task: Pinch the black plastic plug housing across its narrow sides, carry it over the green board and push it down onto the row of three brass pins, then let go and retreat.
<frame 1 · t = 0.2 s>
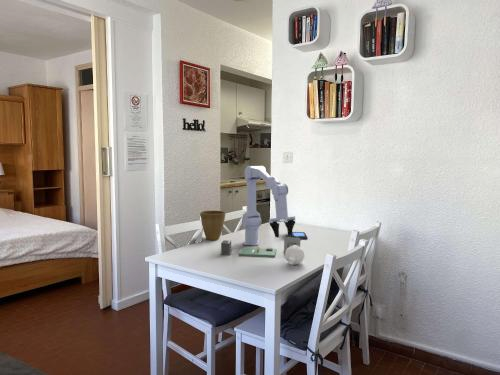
hand: (283, 236, 187), 10 cm above the table, fingers open, 7 cm apart
electrical switch: (291, 253, 197), on the table
handheld game console: (295, 237, 234), on the table
plug: (226, 253, 195), on the table
plant pot: (213, 239, 227), on the table
perfume bottle: (292, 265, 177), on the table
pcb: (258, 253, 196), on the table
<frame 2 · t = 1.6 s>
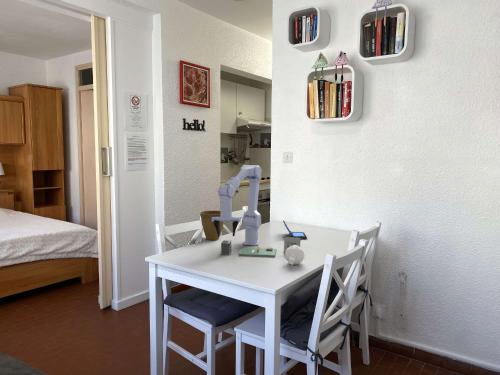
hand: (226, 235, 194), 9 cm above the table, fingers open, 7 cm apart
nothing on the table moved.
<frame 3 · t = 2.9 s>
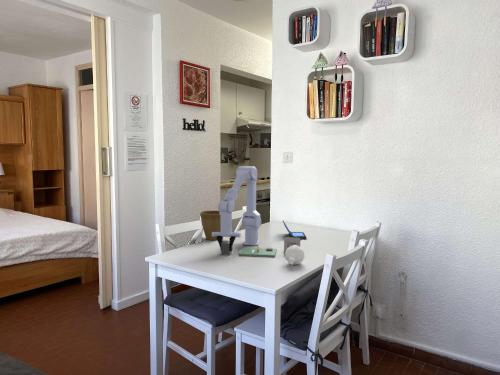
hand: (226, 250, 195), 1 cm above the table, fingers closed on plug, 4 cm apart
plug: (226, 253, 195), on the table, touching gripper
everything else where it was.
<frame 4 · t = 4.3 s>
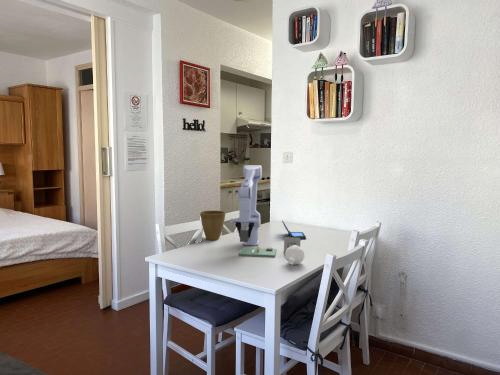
hand: (244, 237, 195), 8 cm above the table, fingers closed on plug, 4 cm apart
plug: (244, 240, 195), point 7 cm above the table, touching gripper
everything else where it was.
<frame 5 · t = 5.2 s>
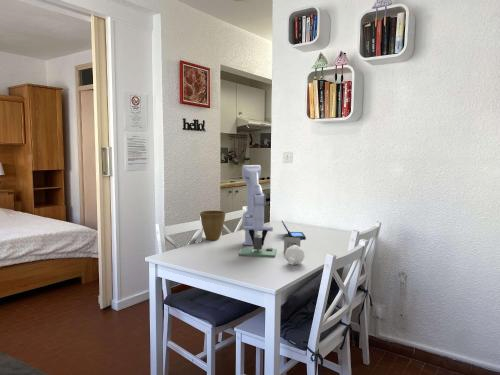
hand: (258, 244, 195), 4 cm above the table, fingers closed on plug, 4 cm apart
plug: (258, 248, 195), point 3 cm above the table, touching gripper
when the fingers open (3 cm above the table, at t = 5.9 s): plug stays where it is, resting on pcb.
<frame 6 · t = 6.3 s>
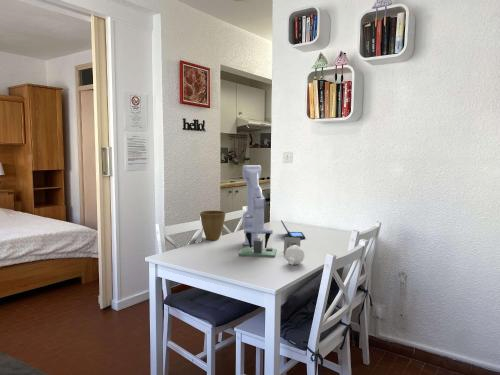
hand: (258, 247, 196), 3 cm above the table, fingers open, 7 cm apart
plug: (258, 251, 196), point 1 cm above the table, touching pcb
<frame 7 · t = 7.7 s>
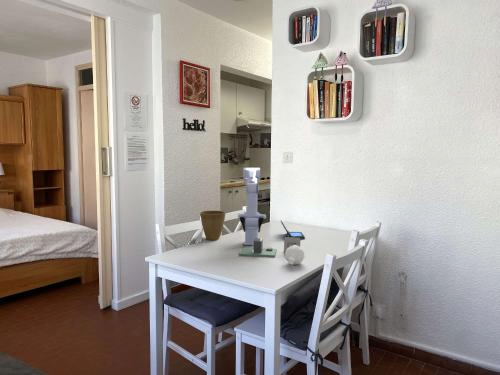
hand: (251, 231, 200), 10 cm above the table, fingers open, 7 cm apart
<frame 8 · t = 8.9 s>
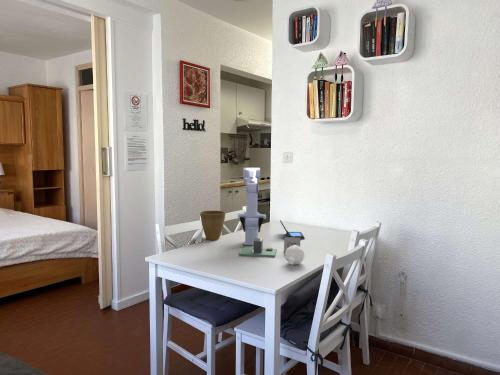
hand: (251, 231, 200), 10 cm above the table, fingers open, 7 cm apart
at the end: plug 0.2 cm off-centre on the pcb, point 1.0 cm above the pcb's base; plug tilted 0°; the gripper is holding nothing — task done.
